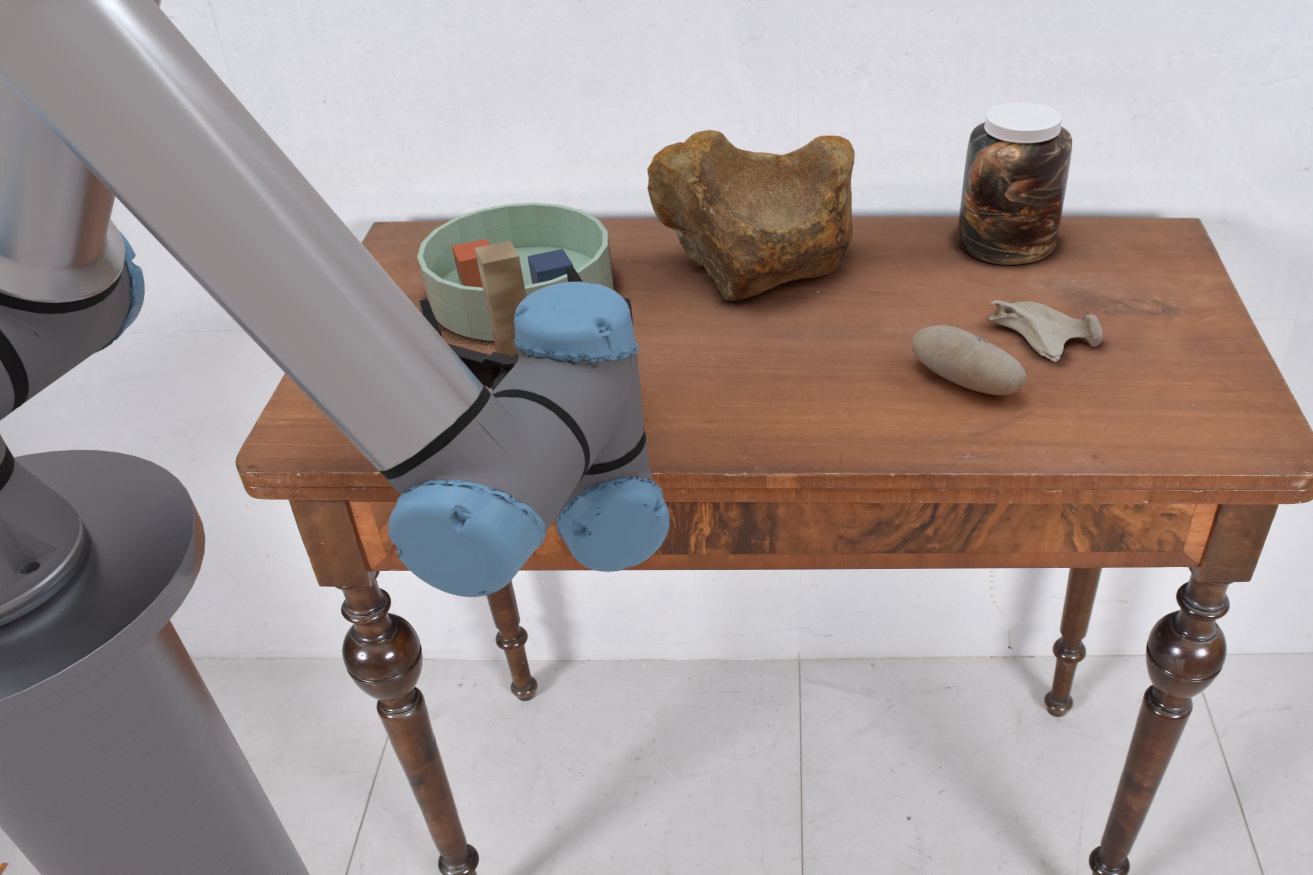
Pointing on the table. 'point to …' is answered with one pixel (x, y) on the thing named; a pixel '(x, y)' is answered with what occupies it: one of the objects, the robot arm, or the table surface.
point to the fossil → (1046, 326)
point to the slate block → (548, 265)
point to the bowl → (530, 235)
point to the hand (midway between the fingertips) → (500, 296)
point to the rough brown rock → (756, 209)
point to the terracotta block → (468, 262)
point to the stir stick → (501, 291)
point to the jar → (1014, 184)
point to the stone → (968, 360)
